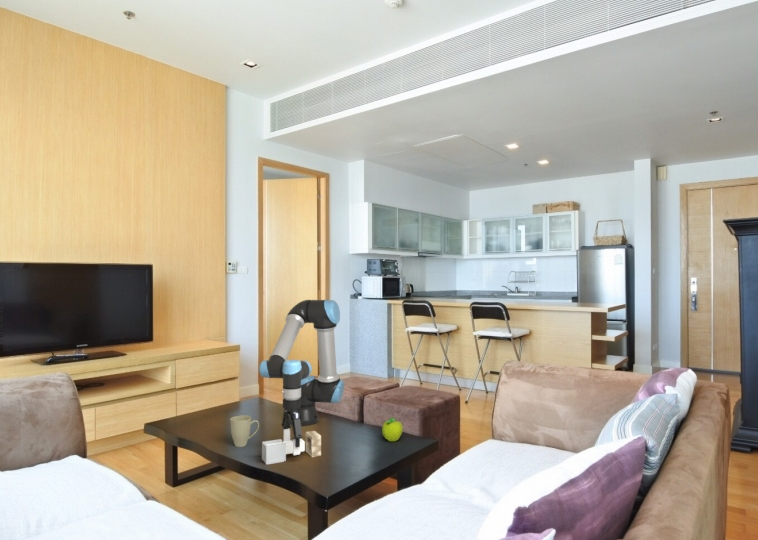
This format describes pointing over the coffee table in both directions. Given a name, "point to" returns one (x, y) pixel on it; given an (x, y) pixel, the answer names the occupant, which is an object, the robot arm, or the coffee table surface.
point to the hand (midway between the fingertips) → (291, 449)
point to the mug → (241, 429)
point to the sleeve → (273, 452)
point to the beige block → (313, 443)
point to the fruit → (392, 429)
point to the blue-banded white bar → (291, 445)
